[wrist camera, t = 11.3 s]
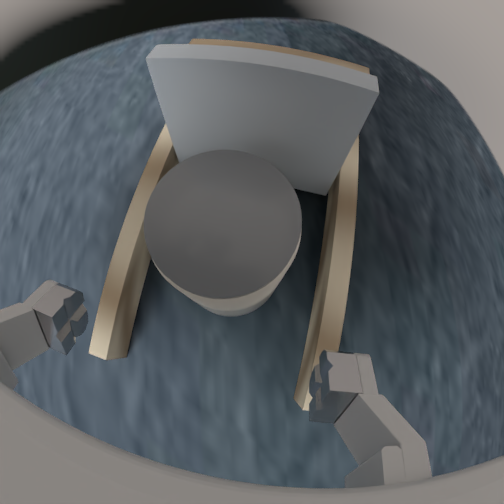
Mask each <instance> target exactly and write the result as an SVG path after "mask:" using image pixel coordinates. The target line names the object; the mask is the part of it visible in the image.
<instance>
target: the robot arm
mask: <svg viewBox="0 0 504 504" xmlns="http://www.w3.org/2000/svg"><path fill="white" fill-rule="evenodd" d="M83 302H84V297H83V293H82V292H80V291H78V290H76V289H73V288H71V287H68V286H66V285H63V284H61V283H57V282H55V281H53V280H47V281H45V282H44V283H43V284H42V285H41V286H40V287H39V288H38V289H37V290H36V291H35V292H34V293H33V294H32V295H31V296H30V297H28V298H27V299H26V300H25V301H24V302H23V303H22V304H21V303H17V304H15V305H12V306H9V307H6V308H4V309H1V310H0V504H504V455H503V456H500V457H498V458H495V459H492V460H489V461H487V462H484V463H481V464H478V465H475V466H472V467H468V468H465V469H462V470H458V471H455V472H451V473H447V474H443V475H439V476H434V477H432V474H431V468H430V463H429V457H428V452H427V447H426V442H425V441H424V440H423V439H422V438H421V437H420V435H419V434H418V433H417V432H416V431H415V430H414V429H413V428H412V427H411V426H410V424H409V423H408V422H407V421H406V420H405V419H404V418H403V417H402V416H401V414H400V413H399V412H398V411H397V410H396V409H395V408H394V407H393V406H392V405H391V403H390V402H389V401H388V400H387V399H386V398H385V397H384V396H383V395H379V394H378V389H377V384H376V380H375V375H374V370H373V366H372V362H371V357H370V356H369V354H361V353H351V352H343V351H334V350H327V349H324V350H323V351H322V352H321V354H320V356H319V364H317V365H316V366H314V369H313V371H312V373H311V377H310V382H309V393H310V395H311V396H312V397H313V398H312V400H311V402H310V403H309V421H313V422H322V423H333V424H334V426H335V428H336V429H337V431H338V433H339V434H340V436H341V437H342V439H343V441H344V442H345V444H346V446H347V447H348V449H349V450H350V452H351V454H352V455H353V457H354V458H355V460H356V462H357V463H358V465H359V467H357V468H356V469H355V470H353V471H352V472H350V473H349V474H348V475H347V476H345V488H295V487H280V486H270V485H261V484H253V483H246V482H239V481H233V480H228V479H222V478H217V477H212V476H208V475H203V474H199V473H195V472H191V471H187V470H183V469H179V468H176V467H172V466H169V465H166V464H162V463H159V462H156V461H153V460H150V459H147V458H144V457H141V456H138V455H136V454H133V453H130V452H128V451H125V450H123V449H120V448H118V447H115V446H113V445H110V444H108V443H106V442H104V441H101V440H99V439H97V438H95V437H93V436H90V435H88V434H86V433H84V432H82V431H80V430H78V429H76V428H74V427H72V426H70V425H69V424H67V423H65V422H63V421H61V420H59V419H58V418H56V417H54V416H52V415H51V414H49V413H47V412H46V411H44V410H42V409H41V408H39V407H37V406H36V405H34V404H33V403H31V402H30V401H28V400H27V399H25V398H24V397H22V396H21V395H19V394H18V393H16V392H15V391H13V389H14V388H15V386H16V385H17V383H18V379H17V377H16V376H15V374H14V373H13V371H12V370H14V369H16V368H17V367H19V366H21V365H22V364H24V363H26V362H28V361H29V360H31V359H33V358H34V357H36V356H38V355H40V354H41V353H43V352H45V351H46V350H48V349H49V348H51V349H53V350H55V351H58V352H60V353H62V354H64V355H67V354H68V353H69V351H70V350H71V349H72V347H73V346H74V344H75V343H76V342H75V337H77V336H80V335H82V333H83V332H84V331H85V329H86V326H87V323H88V313H87V310H86V308H85V307H84V306H83Z"/></svg>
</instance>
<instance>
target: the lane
mask: <svg viewBox="0 0 504 504" xmlns="http://www.w3.org/2000/svg"><path fill="white" fill-rule="evenodd" d="M189 44H198V45H219V46H233V47H243V48H252V49H260V50H267V51H274V52H280V53H286V54H292V55H297V56H302V57H307V58H311V59H316V60H320V61H324V62H328V63H332V64H336V65H340V66H343V67H347V68H351V69H354V70H357V71H361V72H364V73H367V74H370V73H369V68H367V67H364V66H361V65H358V64H354V63H351V62H348V61H344V60H340V59H337V58H333V57H329V56H325V55H321V54H316V53H312V52H307V51H302V50H297V49H292V48H286V47H280V46H274V45H267V44H260V43H251V42H242V41H231V40H215V39H192V40H191V42H190V43H189ZM358 160H359V134H358V136H357V138H356V140H355V142H354V144H353V146H352V148H351V150H350V152H349V154H348V155H347V157H346V159H345V161H344V163H343V165H342V167H341V169H340V171H339V172H338V174H337V176H336V178H335V180H334V182H333V184H332V185H331V187H330V189H329V192H328V202H327V210H326V219H325V227H324V235H323V242H322V249H321V256H320V263H319V270H318V276H317V282H316V289H315V295H314V300H313V306H312V312H311V317H310V323H309V328H308V333H307V338H306V343H305V348H304V353H303V358H302V363H301V367H300V372H299V377H298V381H297V385H296V390H295V394H294V400H295V401H296V402H297V403H298V405H299V406H300V407H301V408H302V410H308V411H309V403H310V402H311V400H312V398H313V397H312V396H311V395H310V393H309V382H310V377H311V373H312V371H313V369H314V366H316V365H317V364H319V356H320V354H321V352H322V351H323V350H324V349H327V350H334V351H338V350H339V344H340V339H341V333H342V327H343V321H344V315H345V309H346V302H347V295H348V288H349V280H350V272H351V264H352V255H353V245H354V234H355V222H356V207H357V189H358ZM177 164H179V161H178V158H177V155H176V152H175V149H174V146H173V143H172V140H171V137H170V134H169V131H168V128H167V125H166V124H165V126H164V128H163V130H162V132H161V134H160V136H159V138H158V140H157V142H156V145H155V147H154V149H153V151H152V153H151V156H150V158H149V160H148V162H147V165H146V167H145V169H144V172H143V174H142V176H141V179H140V181H139V184H138V186H137V189H136V191H135V194H134V196H133V199H132V202H131V204H130V207H129V209H128V212H127V215H126V218H125V221H124V223H123V226H122V229H121V232H120V235H119V238H118V241H117V244H116V247H115V250H114V253H113V257H112V260H111V263H110V267H109V270H108V273H107V277H106V281H105V284H104V288H103V292H102V295H101V299H100V303H99V307H98V312H97V316H96V320H95V325H94V329H93V334H92V339H91V344H90V349H89V353H90V354H92V355H94V356H97V357H99V358H102V359H104V360H112V359H119V358H126V357H127V352H128V348H129V343H130V338H131V334H132V329H133V325H134V320H135V316H136V312H137V308H138V304H139V300H140V296H141V292H142V288H143V285H144V281H145V277H146V274H147V270H148V267H149V263H150V260H151V255H150V253H149V251H148V249H147V245H146V241H145V237H144V215H145V210H146V206H147V203H148V200H149V198H150V196H151V193H152V192H153V190H154V188H155V187H156V185H157V184H158V182H159V181H160V180H161V179H162V177H163V176H164V175H165V174H166V173H167V172H168V171H169V170H171V169H172V168H173V167H174V166H176V165H177Z"/></svg>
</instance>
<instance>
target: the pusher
mask: <svg viewBox="0 0 504 504" xmlns="http://www.w3.org/2000/svg"><path fill="white" fill-rule="evenodd" d="M146 61H147V65H148V68H149V71H150V75H151V78H152V81H153V84H154V88H155V91H156V94H157V97H158V100H159V103H160V107H161V110H162V113H163V116H164V119H165V122H166V125H167V128H168V131H169V134H170V137H171V140H172V143H173V146H174V149H175V152H176V155H177V158H178V161H179V163H180V162H182V161H184V160H185V159H188V158H190V157H192V156H194V155H197V154H200V153H204V152H208V151H214V150H237V151H242V152H247V153H250V154H253V155H256V156H258V157H260V158H262V159H264V160H266V161H268V162H269V163H271V164H272V165H274V166H275V167H276V168H277V169H279V170H280V171H281V172H282V173H283V174H284V176H285V177H286V178H287V179H288V180H289V182H290V183H291V185H292V186H293V188H294V189H299V190H303V191H308V192H312V193H316V194H321V195H325V196H326V195H327V193H328V191H329V189H330V187H331V185H332V184H333V182H334V180H335V178H336V176H337V174H338V172H339V171H340V169H341V167H342V165H343V163H344V161H345V159H346V157H347V155H348V154H349V152H350V150H351V148H352V146H353V144H354V142H355V140H356V138H357V136H358V134H359V132H360V130H361V128H362V127H363V125H364V123H365V121H366V119H367V117H368V115H369V113H370V111H371V109H372V107H373V105H374V103H375V101H376V99H377V97H378V95H379V87H378V79H377V77H376V76H373V75H370V74H367V73H364V72H361V71H357V70H354V69H351V68H347V67H343V66H340V65H336V64H332V63H328V62H324V61H320V60H316V59H311V58H307V57H302V56H297V55H292V54H286V53H280V52H274V51H267V50H260V49H252V48H243V47H233V46H219V45H198V44H165V45H156V46H155V47H154V49H153V50H152V51H151V52H150V54H149V55H148V56H147V58H146Z"/></svg>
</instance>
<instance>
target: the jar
mask: <svg viewBox="0 0 504 504" xmlns="http://www.w3.org/2000/svg"><path fill="white" fill-rule="evenodd" d="M301 226H302V214H301V208H300V203H299V200H298V197H297V194H296V192H295V190H294V188H293V186H292V185H291V183H290V182H289V180H288V179H287V178H286V177H285V176H284V174H283V173H282V172H281V171H280V170H279V169H277V168H276V167H275V166H274V165H272V164H271V163H269V162H268V161H266V160H264V159H262V158H260V157H258V156H256V155H253V154H250V153H247V152H242V151H237V150H214V151H208V152H204V153H200V154H197V155H194V156H192V157H190V158H188V159H185V160H184V161H182V162H180V163H179V164H177V165H176V166H174V167H173V168H172V169H171V170H169V171H168V172H167V173H166V174H165V175H164V176H163V177H162V179H161V180H160V181H159V182H158V184H157V185H156V187H155V188H154V190H153V192H152V193H151V196H150V198H149V200H148V203H147V206H146V210H145V215H144V237H145V241H146V245H147V249H148V251H149V253H150V255H151V258H152V260H153V262H154V264H155V266H156V267H157V269H158V271H159V272H160V273H161V275H162V276H163V277H164V278H165V279H166V280H167V281H168V282H169V283H170V284H171V285H172V286H173V287H175V288H176V289H177V290H179V291H180V292H182V293H183V294H185V295H186V296H187V297H189V298H190V299H192V300H193V301H195V302H196V303H197V304H199V305H200V306H202V307H203V308H205V309H206V310H208V311H210V312H212V313H214V314H218V315H221V316H232V317H233V316H241V315H245V314H248V313H250V312H253V311H254V310H256V309H258V308H259V307H261V306H262V305H263V304H264V303H265V302H266V301H267V300H268V299H269V298H270V296H271V295H272V293H273V292H274V290H275V289H276V287H277V286H278V284H279V283H280V281H281V279H282V278H283V276H284V275H285V273H286V272H287V270H288V269H289V267H290V265H291V264H292V262H293V260H294V258H295V256H296V253H297V251H298V248H299V244H300V240H301V230H302V229H301Z"/></svg>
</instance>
